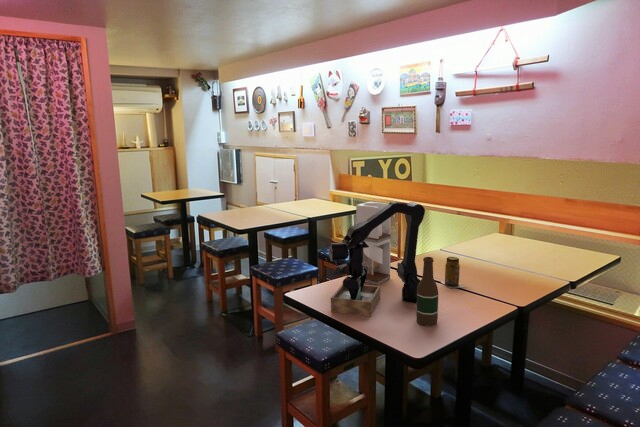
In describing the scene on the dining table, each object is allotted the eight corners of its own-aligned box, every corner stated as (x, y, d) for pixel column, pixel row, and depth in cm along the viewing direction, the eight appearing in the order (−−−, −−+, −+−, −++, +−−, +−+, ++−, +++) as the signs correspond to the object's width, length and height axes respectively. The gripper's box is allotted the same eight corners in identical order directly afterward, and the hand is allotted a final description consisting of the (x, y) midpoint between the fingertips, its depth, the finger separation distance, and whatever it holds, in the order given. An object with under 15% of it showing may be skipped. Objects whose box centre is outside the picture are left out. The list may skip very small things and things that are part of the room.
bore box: (380, 299, 182) (380, 286, 181) (370, 316, 166) (370, 302, 165) (343, 295, 187) (343, 282, 186) (330, 311, 171) (330, 298, 170)
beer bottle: (433, 328, 155) (435, 262, 151) (412, 323, 159) (413, 259, 155) (440, 320, 162) (442, 256, 157) (419, 315, 166) (421, 253, 161)
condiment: (455, 280, 202) (456, 255, 200) (464, 287, 194) (466, 260, 192) (440, 282, 200) (441, 256, 198) (449, 288, 192) (450, 262, 190)
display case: (356, 279, 206) (356, 204, 200) (369, 273, 214) (369, 201, 207) (377, 284, 199) (377, 207, 192) (390, 278, 207) (390, 204, 200)
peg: (361, 304, 178) (361, 284, 176) (359, 307, 175) (359, 287, 173) (353, 303, 179) (353, 284, 177) (351, 306, 176) (351, 286, 174)
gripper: (342, 250, 184) (343, 286, 187) (329, 264, 167) (329, 303, 170) (369, 252, 181) (369, 289, 184) (358, 266, 163) (358, 306, 166)
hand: (356, 296), depth 176 cm, fingers open, 9 cm apart
